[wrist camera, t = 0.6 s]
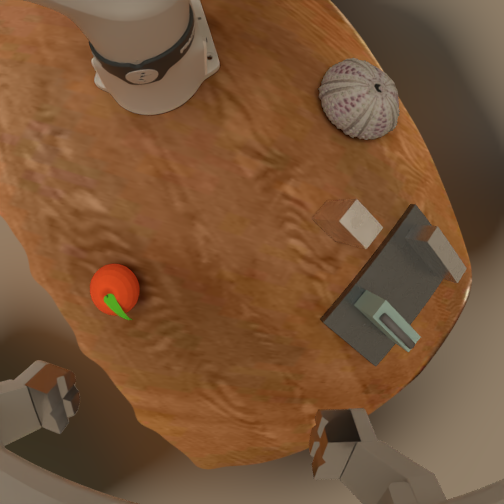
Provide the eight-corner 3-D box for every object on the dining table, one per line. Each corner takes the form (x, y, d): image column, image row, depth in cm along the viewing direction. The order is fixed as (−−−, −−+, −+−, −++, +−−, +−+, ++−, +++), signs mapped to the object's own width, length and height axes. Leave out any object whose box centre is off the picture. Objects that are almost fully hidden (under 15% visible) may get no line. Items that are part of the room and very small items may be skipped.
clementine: (157, 296, 44) (149, 312, 37) (121, 321, 43) (108, 339, 36) (125, 250, 42) (111, 257, 35) (90, 276, 42) (72, 288, 35)
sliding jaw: (389, 338, 48) (412, 355, 41) (353, 305, 46) (376, 319, 39) (400, 324, 48) (425, 339, 41) (366, 289, 46) (390, 302, 39)
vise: (371, 363, 50) (393, 382, 43) (319, 319, 47) (338, 337, 40) (450, 258, 50) (478, 264, 43) (410, 204, 47) (438, 204, 40)
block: (334, 241, 46) (366, 249, 36) (311, 218, 45) (339, 221, 35) (349, 223, 46) (383, 227, 36) (326, 200, 45) (356, 199, 35)
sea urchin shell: (297, 83, 43) (314, 61, 35) (361, 57, 43) (384, 37, 35) (343, 157, 45) (368, 148, 37) (402, 123, 46) (430, 113, 38)
